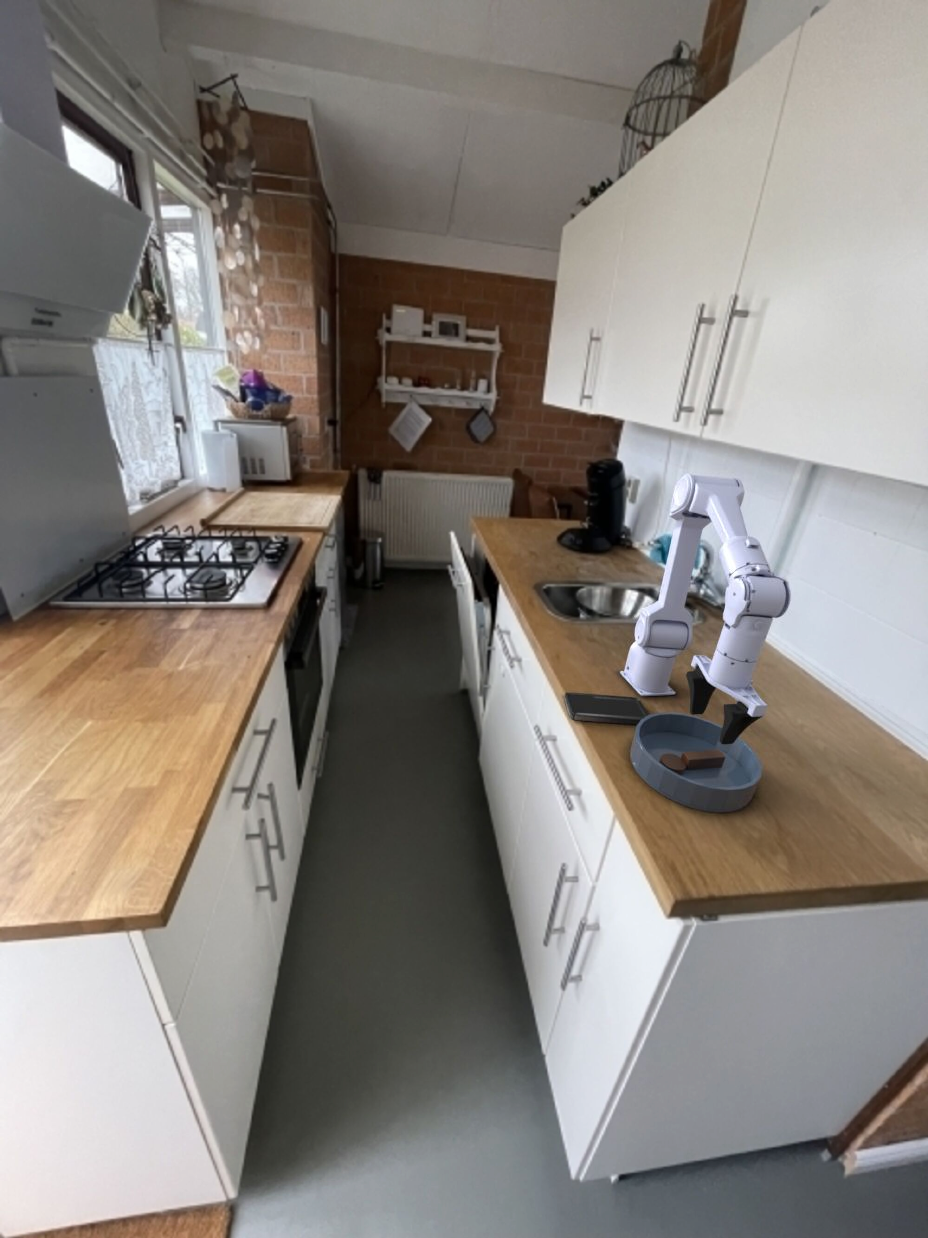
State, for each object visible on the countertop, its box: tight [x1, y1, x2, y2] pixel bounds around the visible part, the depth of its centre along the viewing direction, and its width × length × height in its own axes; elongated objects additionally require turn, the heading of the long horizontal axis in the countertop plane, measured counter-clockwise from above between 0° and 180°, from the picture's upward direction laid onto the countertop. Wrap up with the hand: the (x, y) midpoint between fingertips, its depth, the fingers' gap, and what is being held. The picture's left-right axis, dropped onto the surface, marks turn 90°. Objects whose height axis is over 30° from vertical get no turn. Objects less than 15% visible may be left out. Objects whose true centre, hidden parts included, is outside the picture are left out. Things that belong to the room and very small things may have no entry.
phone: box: [563, 691, 650, 726], centre depth 98 cm, size 8×1×15 cm
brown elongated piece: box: [659, 749, 726, 775], centre depth 84 cm, size 11×4×2 cm, turn 102°
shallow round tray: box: [629, 711, 764, 814], centre depth 84 cm, size 19×19×4 cm
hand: (710, 727), depth 82 cm, fingers open, 7 cm apart
